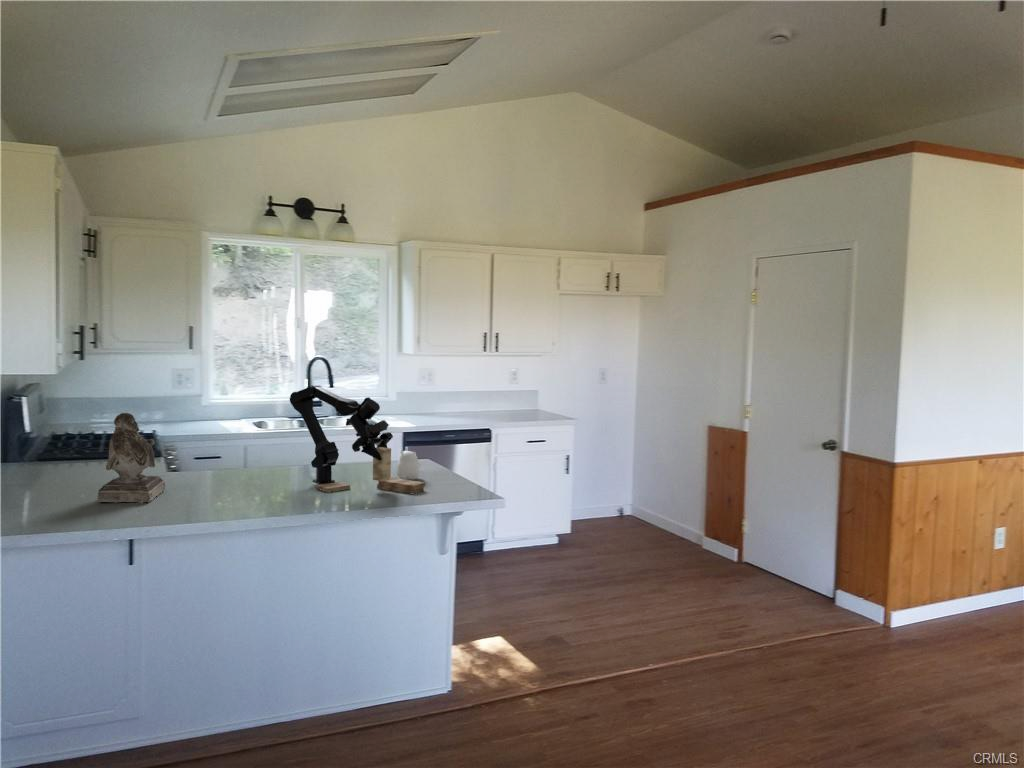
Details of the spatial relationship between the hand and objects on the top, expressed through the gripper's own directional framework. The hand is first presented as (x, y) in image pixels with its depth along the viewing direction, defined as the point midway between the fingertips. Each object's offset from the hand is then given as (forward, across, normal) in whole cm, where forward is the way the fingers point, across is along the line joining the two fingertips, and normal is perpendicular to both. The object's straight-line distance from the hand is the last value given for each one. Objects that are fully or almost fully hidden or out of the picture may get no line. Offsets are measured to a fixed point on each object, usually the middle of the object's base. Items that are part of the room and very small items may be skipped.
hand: (384, 458), depth 282 cm
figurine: (+5, +23, +13) cm, 27 cm away
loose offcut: (-4, -8, +22) cm, 23 cm away
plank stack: (+11, +6, +7) cm, 14 cm away
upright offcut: (+5, 0, +7) cm, 8 cm away
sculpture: (-37, -58, +56) cm, 89 cm away
